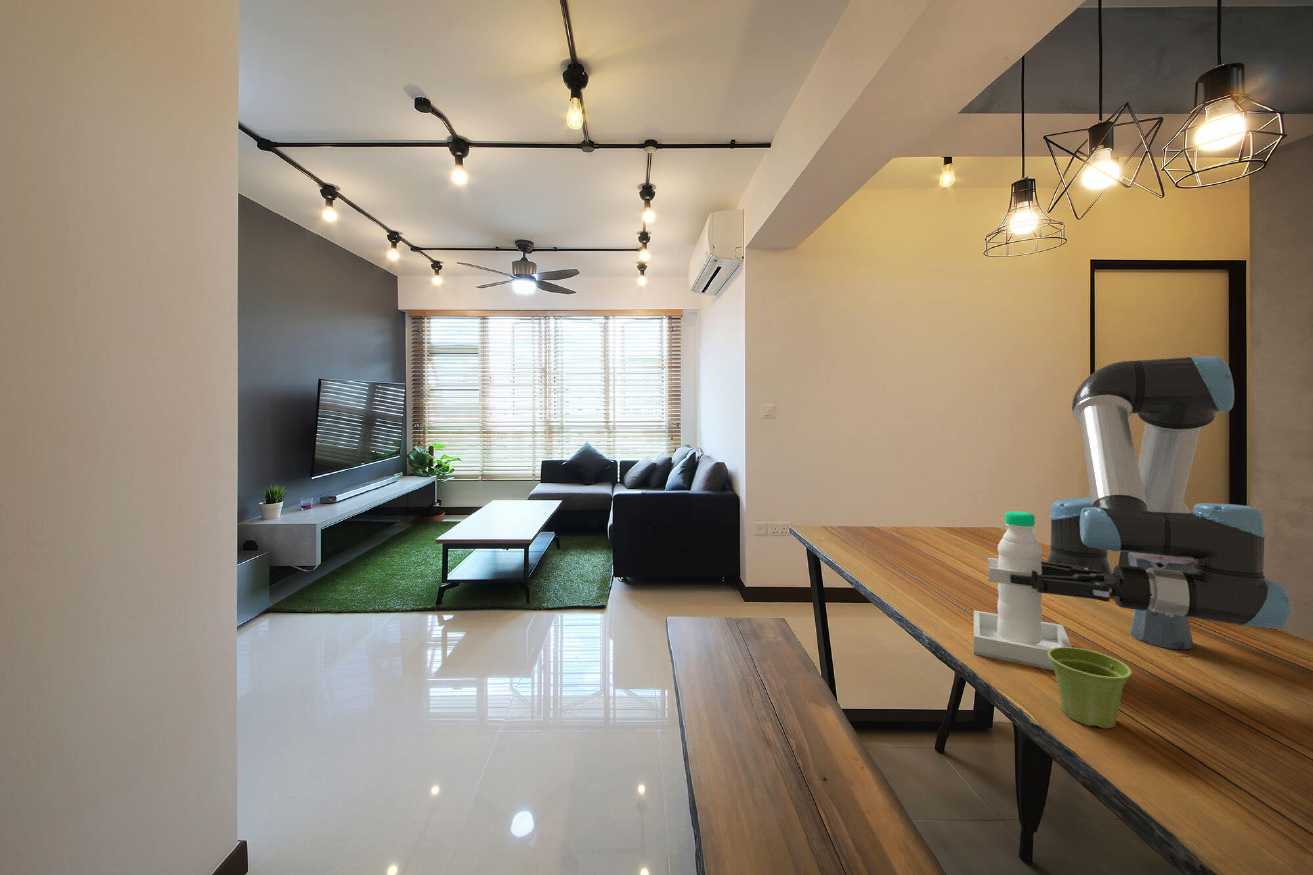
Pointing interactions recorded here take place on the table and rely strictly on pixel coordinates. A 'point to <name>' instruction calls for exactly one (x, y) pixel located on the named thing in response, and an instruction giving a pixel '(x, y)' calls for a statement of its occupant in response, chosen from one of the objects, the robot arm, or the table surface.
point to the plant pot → (1089, 685)
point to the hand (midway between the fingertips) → (988, 569)
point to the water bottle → (1019, 602)
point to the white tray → (1000, 648)
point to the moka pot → (1158, 625)
